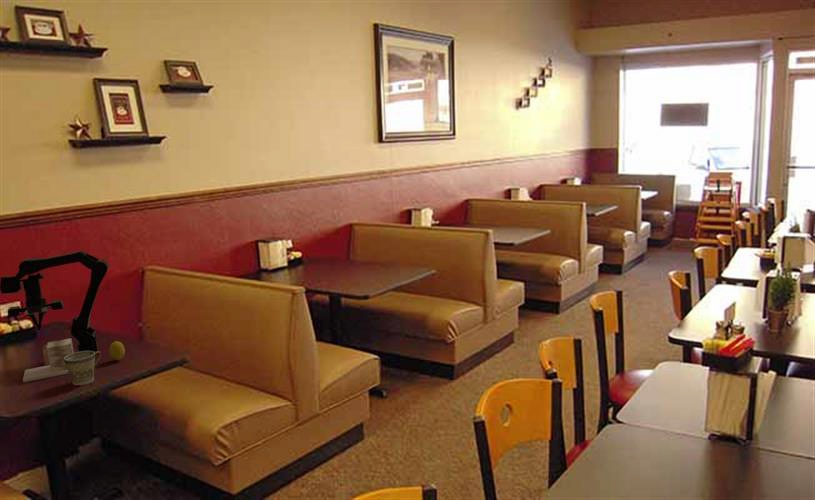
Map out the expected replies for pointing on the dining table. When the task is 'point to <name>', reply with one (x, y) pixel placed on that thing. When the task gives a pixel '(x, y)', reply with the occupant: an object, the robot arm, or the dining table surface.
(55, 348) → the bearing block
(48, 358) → the shaft
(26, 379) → the mounting plate
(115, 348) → the lemon
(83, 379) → the ceramic cup
